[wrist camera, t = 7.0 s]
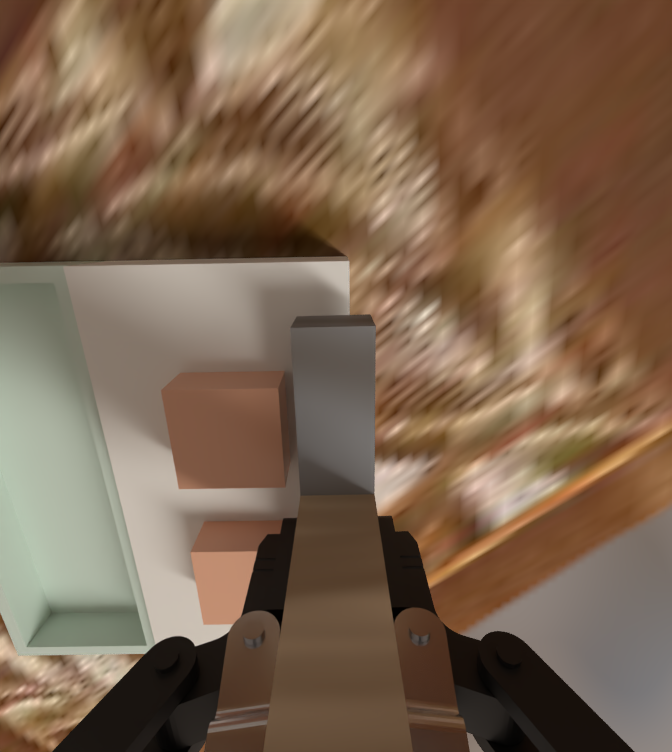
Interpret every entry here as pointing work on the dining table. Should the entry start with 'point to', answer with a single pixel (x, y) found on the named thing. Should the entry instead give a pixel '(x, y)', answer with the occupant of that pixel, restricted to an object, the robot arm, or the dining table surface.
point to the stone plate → (185, 355)
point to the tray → (58, 484)
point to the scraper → (336, 560)
